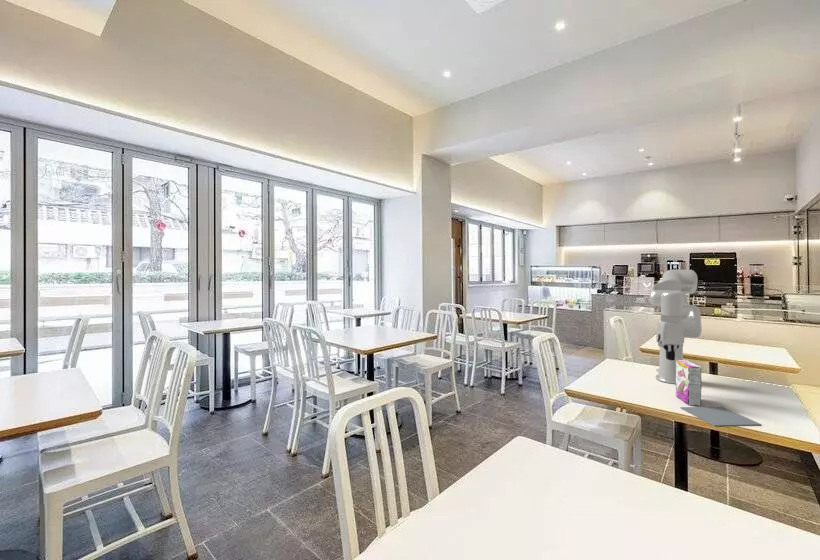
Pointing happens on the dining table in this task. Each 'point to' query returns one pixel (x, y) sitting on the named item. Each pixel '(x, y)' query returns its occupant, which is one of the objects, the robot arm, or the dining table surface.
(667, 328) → the robot arm
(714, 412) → the mat
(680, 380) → the candy bar box
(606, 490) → the dining table surface
